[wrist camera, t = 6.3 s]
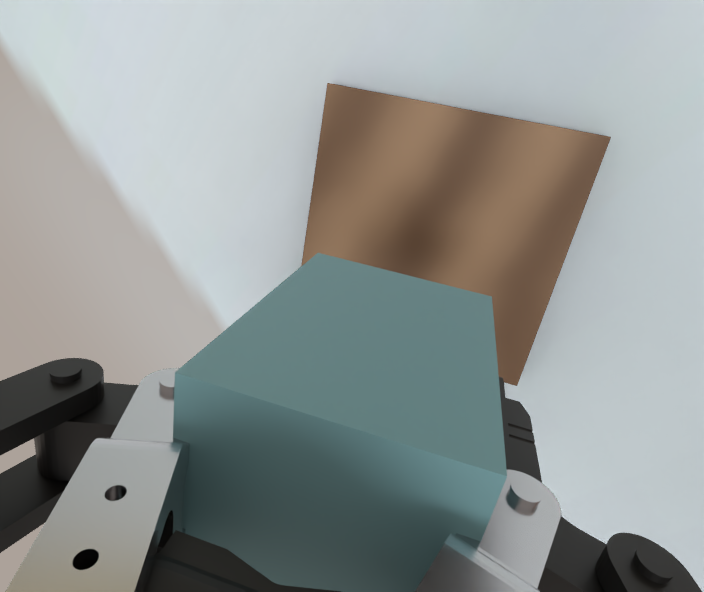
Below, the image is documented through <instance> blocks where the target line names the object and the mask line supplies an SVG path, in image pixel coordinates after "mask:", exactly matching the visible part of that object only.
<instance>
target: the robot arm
mask: <svg viewBox="0 0 704 592" xmlns="http://www.w3.org/2000/svg"><path fill="white" fill-rule="evenodd" d="M179 369H180V368H169V369H163V370H159V371H156V372H153V373H151V374H149V375H148V376H146V377H145V378H144V379H143V380H142V381H141V383H140V384H139V385H126V384H114V383H104V376H103V369H102V367H101V366H100V365H99V364H97V363H96V362H94V361H91V360H87V359H81V358H80V359H79V358H67V359H60V360H55V361H52V362H48V363H46V364H43V365H40V366H38V367H35V368H33V369H30V370H27V371H25V372H22V373H20V374H18V375H15V376H12V377H10V378H7V379H5V380H2V381H0V455H2V454H4V453H6V452H8V451H10V450H12V449H14V448H16V447H18V446H19V445H21V444H23V443H25V442H27V441H29V440H31V439H33V438H34V441H35V449H36V455H34V456H32V457H30V458H28V459H27V460H25V461H23V462H21V463H19V464H17V465H16V466H14V467H12V468H10V469H8V470H6V471H5V472H3V473H1V474H0V553H1V552H2V551H4V550H5V549H7V548H8V547H10V546H11V545H12V544H14V543H15V542H17V541H18V540H20V539H21V538H23V537H24V536H26V535H27V534H29V533H30V532H32V531H33V530H35V529H36V528H38V527H39V526H40V525H42V524H44V523H45V524H44V526H43V528H42V529H41V531H40V533H39V535H38V537H37V538H36V540H35V541H34V543H33V545H32V547H31V548H30V550H29V552H28V553H27V555H26V557H25V559H24V560H23V562H22V564H21V566H20V567H19V569H18V571H17V572H16V574H15V576H14V578H13V579H12V581H11V583H10V585H9V586H8V588H7V590H6V591H5V592H341V591H333V590H324V589H314V588H304V587H295V586H285V585H279V584H276V583H274V582H272V581H271V580H269V579H268V578H267V577H265V576H264V575H262V574H261V573H260V572H258V571H257V570H255V569H254V568H253V567H251V566H250V565H249V564H247V563H246V562H244V561H243V560H242V559H240V558H239V557H237V556H236V555H235V554H233V553H232V552H230V551H229V550H228V549H225V548H223V547H220V546H217V545H215V544H212V543H209V542H207V541H204V540H201V539H199V538H196V537H193V536H191V535H188V534H185V531H186V529H184V528H182V523H183V500H184V486H185V479H186V474H187V469H188V465H189V447H190V443H188V442H185V441H182V440H179V439H176V438H173V419H174V386H175V372H176V371H177V370H179ZM499 386H500V398H501V410H502V422H503V434H504V445H505V457H506V469H507V478H506V480H505V483H504V485H503V488H502V490H501V493H500V495H499V498H498V500H497V503H496V505H495V508H494V510H493V513H492V515H491V518H490V520H489V522H488V525H487V527H486V530H485V532H484V535H483V537H482V540H481V541H478V540H475V539H472V538H469V537H466V536H463V535H460V534H458V533H456V534H455V535H454V534H453V533H451V534H450V535H449V537H448V538H447V539H446V541H445V543H444V544H443V546H442V548H441V549H440V551H439V553H438V554H437V556H436V557H435V559H434V561H433V562H432V564H431V566H430V567H429V569H428V571H427V572H426V574H425V576H424V577H423V579H422V580H421V582H420V584H419V585H418V587H417V589H416V590H415V592H702V591H701V589H700V588H699V587H698V585H697V584H696V582H695V581H694V579H693V578H692V576H691V575H690V574H689V572H688V571H687V570H686V568H685V567H684V566H683V565H682V564H681V563H680V562H679V561H678V560H677V559H676V558H675V557H674V556H673V555H672V554H670V553H669V552H668V551H667V550H665V549H664V548H662V547H661V546H659V545H658V544H656V543H654V542H652V541H651V540H649V539H646V538H644V537H642V536H639V535H635V534H631V533H618V534H615V535H613V536H612V537H611V538H610V539H609V541H608V543H607V544H605V543H603V542H601V541H599V540H597V539H596V538H594V537H592V536H590V535H589V534H587V533H585V532H583V531H581V530H580V529H578V528H577V527H575V526H573V525H572V524H570V523H569V522H568V521H566V520H565V519H564V518H563V517H562V516H561V508H560V504H559V502H558V500H557V498H556V497H555V496H554V494H553V493H552V492H551V491H550V490H549V489H548V488H547V487H546V486H545V485H544V484H543V483H542V480H541V475H540V469H539V464H538V458H537V452H536V447H535V445H534V442H535V441H534V436H533V433H532V425H531V419H530V416H529V414H528V413H527V412H526V410H525V409H524V407H523V406H522V405H521V403H520V402H518V401H514V400H511V399H507V398H505V390H504V380H503V378H502V377H499Z"/></svg>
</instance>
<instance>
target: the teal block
mask: <svg viewBox="0 0 704 592" xmlns="http://www.w3.org/2000/svg"><path fill="white" fill-rule="evenodd" d="M173 438H176V439H179V440H182V441H185V442H188V443H190V447H189V465H188V469H187V474H186V479H185V486H184V500H183V523H182V528H184V529H186V531H185V534H188V535H191V536H193V537H196V538H199V539H201V540H204V541H207V542H209V543H212V544H215V545H217V546H220V547H223V548H225V549H228V550H229V551H230V552H232V553H233V554H235V555H236V556H237V557H239V558H240V559H242V560H243V561H244V562H246V563H247V564H249V565H250V566H251V567H253V568H254V569H255V570H257V571H258V572H260V573H261V574H262V575H264V576H265V577H267V578H268V579H269V580H271V581H272V582H274V583H276V584H279V585H285V586H295V587H304V588H314V589H324V590H333V591H341V592H415V590H416V589H417V587H418V585H419V584H420V582H421V580H422V579H423V577H424V576H425V574H426V572H427V571H428V569H429V567H430V566H431V564H432V562H433V561H434V559H435V557H436V556H437V554H438V553H439V551H440V549H441V548H442V546H443V544H444V543H445V541H446V539H447V538H448V537H449V535H450V534H451V533H453V534H454V535H455V534H456V533H458V534H460V535H463V536H466V537H469V538H472V539H475V540H478V541H481V540H482V537H483V535H484V532H485V530H486V527H487V525H488V522H489V520H490V518H491V515H492V513H493V510H494V508H495V505H496V503H497V500H498V498H499V495H500V493H501V490H502V488H503V485H504V483H505V480H506V478H507V469H506V457H505V445H504V434H503V422H502V410H501V398H500V386H499V375H498V363H497V351H496V339H495V327H494V316H493V304H492V296H488V295H484V294H480V293H476V292H472V291H468V290H464V289H460V288H456V287H452V286H448V285H444V284H440V283H436V282H432V281H428V280H424V279H420V278H416V277H412V276H408V275H404V274H401V273H397V272H393V271H389V270H385V269H381V268H377V267H373V266H369V265H365V264H361V263H357V262H353V261H349V260H345V259H341V258H337V257H333V256H329V255H325V254H321V253H317V254H316V255H315V256H313V257H312V258H311V259H310V260H309V261H307V262H306V263H305V264H304V265H303V266H301V267H300V268H299V269H298V270H297V271H295V272H294V273H293V274H292V275H291V276H290V277H288V278H287V279H286V280H285V281H284V282H282V283H281V284H280V285H279V286H278V287H276V288H275V289H274V290H273V291H272V292H270V293H269V294H268V295H267V296H266V297H264V298H263V299H262V300H261V301H260V302H258V303H257V304H256V305H255V306H254V307H253V308H251V309H250V310H249V311H248V312H247V313H245V314H244V315H243V316H242V317H241V318H239V319H238V320H237V321H236V322H235V323H233V324H232V325H231V326H230V327H229V328H227V329H226V330H225V331H224V332H223V333H222V334H220V335H219V336H218V337H217V338H216V339H214V340H213V341H212V342H211V343H210V344H208V345H207V346H206V347H205V348H204V349H202V350H201V351H200V352H199V353H198V354H196V356H194V357H193V358H192V359H190V360H189V361H188V362H187V363H186V364H185V365H183V366H182V367H181V368H180V369H179V370H177V371H176V372H175V386H174V419H173Z"/></svg>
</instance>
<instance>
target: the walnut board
mask: <svg viewBox="0 0 704 592" xmlns="http://www.w3.org/2000/svg"><path fill="white" fill-rule="evenodd" d="M610 138H611V137H608V136H603V135H597V134H592V133H587V132H582V131H576V130H571V129H566V128H561V127H555V126H550V125H545V124H540V123H534V122H529V121H524V120H519V119H513V118H508V117H503V116H498V115H493V114H487V113H482V112H477V111H472V110H466V109H461V108H456V107H451V106H445V105H440V104H435V103H430V102H424V101H419V100H414V99H409V98H403V97H398V96H393V95H388V94H383V93H377V92H372V91H367V90H362V89H356V88H351V87H346V86H341V85H335V84H330V83H328V84H327V91H326V98H325V105H324V112H323V119H322V126H321V133H320V140H319V147H318V154H317V161H316V168H315V175H314V182H313V189H312V196H311V203H310V210H309V217H308V224H307V231H306V238H305V245H304V252H303V259H302V266H303V265H304V264H305V263H306V262H307V261H309V260H310V259H311V258H312V257H313V256H315V255H316V254H317V253H321V254H325V255H329V256H333V257H337V258H341V259H345V260H349V261H353V262H357V263H361V264H365V265H369V266H373V267H377V268H381V269H385V270H389V271H393V272H397V273H401V274H404V275H408V276H412V277H416V278H420V279H424V280H428V281H432V282H436V283H440V284H444V285H448V286H452V287H456V288H460V289H464V290H468V291H472V292H476V293H480V294H484V295H488V296H492V304H493V316H494V327H495V339H496V351H497V363H498V375H499V377H502V378H503V380H504V382H505V383H509V384H512V385H516V386H517V384H518V381H519V379H520V376H521V374H522V371H523V368H524V366H525V363H526V360H527V358H528V355H529V352H530V350H531V347H532V344H533V342H534V339H535V337H536V334H537V331H538V329H539V326H540V323H541V321H542V318H543V315H544V313H545V310H546V307H547V305H548V302H549V300H550V297H551V294H552V292H553V289H554V286H555V284H556V281H557V278H558V276H559V273H560V270H561V268H562V265H563V263H564V260H565V257H566V255H567V252H568V249H569V247H570V244H571V241H572V239H573V236H574V233H575V231H576V228H577V225H578V223H579V220H580V218H581V215H582V212H583V210H584V207H585V204H586V202H587V199H588V196H589V194H590V191H591V188H592V186H593V183H594V181H595V178H596V175H597V173H598V170H599V167H600V165H601V162H602V159H603V157H604V154H605V151H606V149H607V146H608V144H609V141H610Z"/></svg>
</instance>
